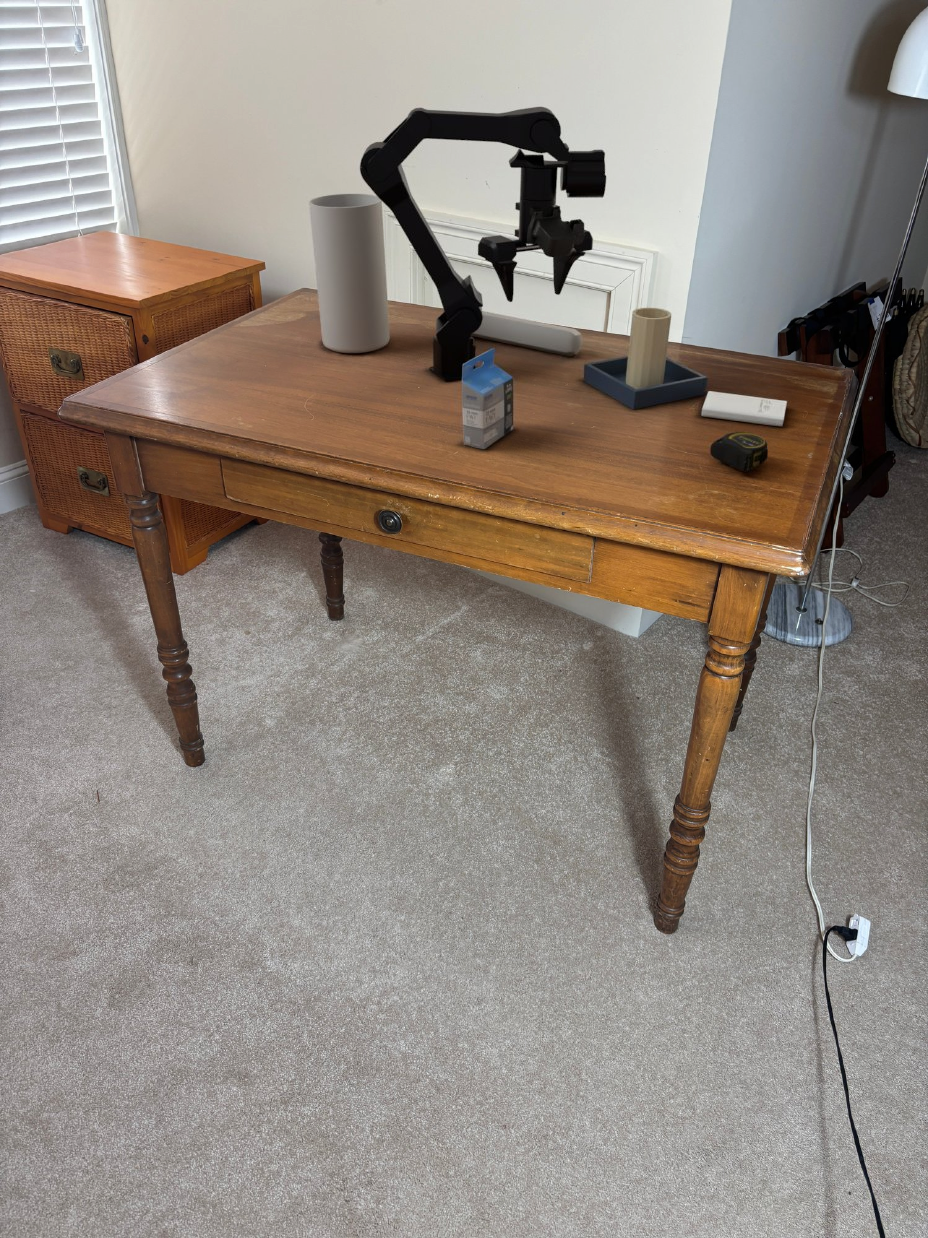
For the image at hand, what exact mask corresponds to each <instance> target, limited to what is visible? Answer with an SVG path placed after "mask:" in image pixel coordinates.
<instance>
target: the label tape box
mask: <svg viewBox="0 0 928 1238" xmlns="http://www.w3.org/2000/svg"><path fill="white" fill-rule="evenodd" d="M495 351H496V347H493V348H490V349H489V350H487V351H485V352H483V353H481V354H479V355H477V356H476V357H475V358H473V359H472V360H470V361H468V362H466V363H464V364H463V369H462V378H461V400H462V401H461V402H462V403H461V405H462V434H463V435H462V436H463V438H462V439H463V445H464V446H468V447H472V448H477V449H481V450H485V449H487V448H488V447H490V446H491V445H493V444H494V443H495V442H497V441H499V440H500V439H501V438H502V437H504V436H506V435H507V434H508V433H510V432H511V431H513V430H514V381H515V379H514V377H513V376H512V375H510V374H509V373H507V372H506V371H505V370H503V369H502V368H501V367H499V366H498V365H496V364H495V363H494V360H495ZM478 363H482V365H479V366H478V367H476V365H478ZM474 366H475V369H473V367H474Z"/></svg>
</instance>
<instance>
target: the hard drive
mask: <svg viewBox="0 0 928 1238" xmlns="http://www.w3.org/2000/svg"><path fill="white" fill-rule="evenodd" d="M787 403H788V401H787V400H781V399H780V400H779V399H775V398H774V399H773V398H765V397H757V396H749V395H744V394H743V395H742V394H735V393H729V392H728V393H727V392H718V391H711V390H709V391H708V392H707V393H706V396H705V399H704V402H703V406H702V408H701V414H700V415H701V417H705V418H712V419H719V420H727V421H734V422H743V423H750V424H757V425H765V426H773V427H783V424H784V421H785V414H786V409H787Z"/></svg>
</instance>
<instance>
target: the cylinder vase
mask: <svg viewBox="0 0 928 1238" xmlns="http://www.w3.org/2000/svg"><path fill="white" fill-rule="evenodd" d="M308 207H309V216H310V217H309V219H310V228H311V237H312V239H311V240H312V248H313V257H314V258H313V259H314V269H315V278H316V289H317V298H318V299H317V301H318V310H319V320H320V331H321V340H322V344H323V346H324V347H325V348H326V349H328V350H331V351H333V352H336V353H342V354H343V353H344V354H361V353H368V352H373V351H377V350H380V349H383V348H384V347H385V346H387V345H388V343H389V342H390V340H391V339H390V338H391V335H390V334H391V333H390V321H389V320H390V318H389V303H388V301H389V300H388V286H387V285H388V284H387V267H386V249H385V248H386V247H385V232H384V217H383V216H384V215H383V214H384V213H383V202H382V201H381V200H380V199H379V198H378V197H377V195H374V194H367V193H336V194H335V193H334V194H327V195H321V196H317V197H314V198H311V199H310V200H308Z"/></svg>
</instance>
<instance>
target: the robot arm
mask: <svg viewBox="0 0 928 1238" xmlns="http://www.w3.org/2000/svg"><path fill="white" fill-rule="evenodd" d="M561 135H562V126H561V124H560V121H559V119H558V117H556V115H555V113H554V112H553V111H552V110H551V109H549V108H547V107H545V106H532V107H526V108H520V109H514V110H511V111H506V112H500V113H499V112H497V113H495V112H480V111H461V110H440V109H439V110H438V109H426V108H424V107H415V108H413V109H411V110H410V111H409V113H408V114H407V116H406V118H405V119H404V120H402V121H401V123H399V124H398V126H396V128H394V129H393V130H392V131H391V132H390V133H389V134H388V135H387V136H386V137H385V138H384V139H383V140H382V141H375V142H372V143H371V144H369V145H368V146H367V147H366V148H365V150H364V152H363V154H362V156H361V159H360V164H359V173H360V176H361V178H362V180H363V181H364V183H365V184H366V185H367V186H368V187H369V189H371V191H372V192H373V193H374V194H375V196H377V197H378V198H379V199H380V200H381V201H382V204H384V205H385V206H386V207H387V208H388V209H389V210H390V211H391V212H392V214H393V215H394V217H395V219H396V221H397V222H398V224H399V226H400V227H401V229H402V231H403V233H404V234H405V236H406V238H407V240H408V242H410V245H411V246H412V248H413V250H414V251H415V253H416V255H417V257H418V258H419V260H420V262H421V263H422V265H423V267H424V269H425V270H426V272H427V274H428V275H429V277H430V279H431V281H432V282H433V284H434V286H435V287H436V289H437V293H438V296H439V300H440V302H441V305H442V308H443V311H442V313H441V314H440V315H439V316H437V318H436V320H435V337H432V353H433V354H432V359H433V360H432V366H429V367H428V370H429V371H430V372H431V373H432V374H434V375H435V376H437V377H438V378H440V379H441V380H443V381H445V382H449V381H454V380H460V379H461V380H462V369H463V364H464V363H466V362H468V361H470V360H472V359H473V358H475V357H477V356H476V355H477V353H476V352H477V351H476V350H477V346H476V345H475V344H474V336H471V334H472V333H474V332H475V331H477V330H478V329H479V327H480V326H481V323H482V320H483V315H482V311H483V307H484V302H483V294H482V293H481V292H480V291H478V289H477V288H476V286H475V284H474V281H473V278H472V276H471V275H470V274H469V275H468V276H466V277H465V278H464V279H463V278H462V277H461V276H460V274H458V272H457V271H456V270H455V269H454V267H453V265H452V263H451V262H450V260H449V258H448V256H447V255H446V253H445V251H444V249H443V248H442V245H441V244H440V242H439V240H438V239H437V237H436V235H435V233H434V231H433V230H432V228H431V226H430V224H429V223H428V221H427V219H426V218H425V216H424V214H423V212H422V210H421V209H420V207H419V205H418V204H417V202H416V200H415V198H414V197H413V194H412V192H411V189H410V186H409V183H408V180H407V177H406V173H405V171H404V168H403V164H402V163H404V162H405V160H406V159H407V158H408V157H409V156H410V155H411V153H412V152H413V151H415V149H416V148H417V147H418V145H420V144H421V142H423V140H426V139H427V140H447V141H448V140H450V141H469V142H487V143H500V144H504V145H507V146H511V147H513V148H516V149H517V151H516V153H515V154H514V155H513V156H512V157H511V158H509V160H508V164H509V167H510V168H512V169H520V182H519V183H520V184H519V202H515V204H514V205H515V207H514V210H516V211H518V212H519V217H518V229H517V228H516V229H514V237H516V238H518V239H510V238H509V237H505V236H504V235H501V234H499V235H491V236H484V237H483V236H482V237H481V239H480V240H479V242H478V244H477V256H479V257H480V258H482V259H483V258H484V260H485V261H486V262H489V263H491V265H492V267H493V269H494V271H495V274H496V275H497V277H498V280H499V282H500V285H501V287H502V290H503V294H504V296H505V298H506V301H507V302H509V303H513V301H514V294H515V293H514V291H515V290H514V288H515V287H514V284H515V283H514V279H515V278H514V276H515V274H514V273H515V269H516V267H517V265H518V262H517V261H516V260H514V259H515V258H516V257H517V253H523V252H530V251H538V250H542V252H543V254H544V255H545V256H546V257H549V258H552V269H553V272H552V274H553V276H552V277H553V290H554V294H555V295H557V296H559V295H561V293H562V290H563V288H564V285H565V283H566V281H567V278H568V276H569V274H570V271H571V269H572V267H573V265H574V263H575V262H576V261H578V259H579V258H581V257H584V256H585V255H586V251H587V252H589V251H592V250H593V247H594V237H593V234H592V233H591V232H590V230H587V229H585V222H584V221H583V220H582V219H580V218H579V219H578V218H577V219H576V218H575V219H570V220H565V221H564V220H563V219H562V210H561V206H560V205H557V188H558V187H557V184H558V168H559V169H560V174H559V189H560V192H564V191H565V194H566V198H570V199H572V198H574V199H575V198H576V199H577V198H578V199H581V198H582V199H584V198H585V199H587V198H588V199H589V198H590V199H591V198H592V199H593V198H596V199H597V198H601V199H602V198H604V196H605V192H606V186H607V175H606V160H605V157H606V152H605V151H604V150H603V149H593V150H570V146H569V145H568V144H567V143H566V142H563V139H562V138H561ZM523 150H524V151H528V152H532V153H536V154H525V153H524V151H523ZM546 153H547V154H548V155H549V156H551V157H552V158H554V159H555V160H545V156H544V154H546ZM474 369H476V365H475V366H474V367H473V370H474Z"/></svg>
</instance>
